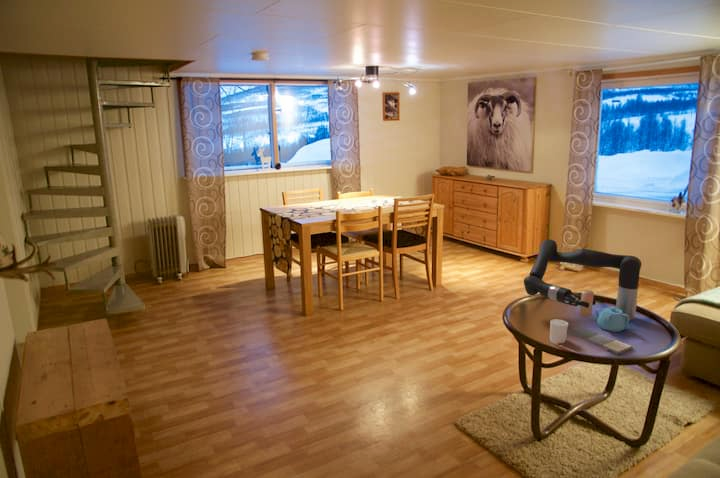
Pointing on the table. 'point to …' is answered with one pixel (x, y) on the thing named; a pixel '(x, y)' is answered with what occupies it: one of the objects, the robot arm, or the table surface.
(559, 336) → the white cup
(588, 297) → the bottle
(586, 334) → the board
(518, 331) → the table surface
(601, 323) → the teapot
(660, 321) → the table surface
